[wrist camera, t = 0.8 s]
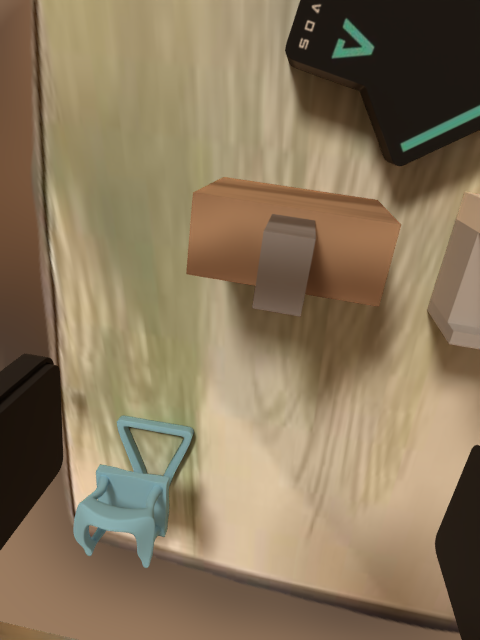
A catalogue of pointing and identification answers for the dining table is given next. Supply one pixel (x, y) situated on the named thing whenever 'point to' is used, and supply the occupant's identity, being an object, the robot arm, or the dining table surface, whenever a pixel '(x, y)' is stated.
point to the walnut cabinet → (291, 243)
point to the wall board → (460, 279)
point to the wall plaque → (398, 65)
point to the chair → (131, 494)
